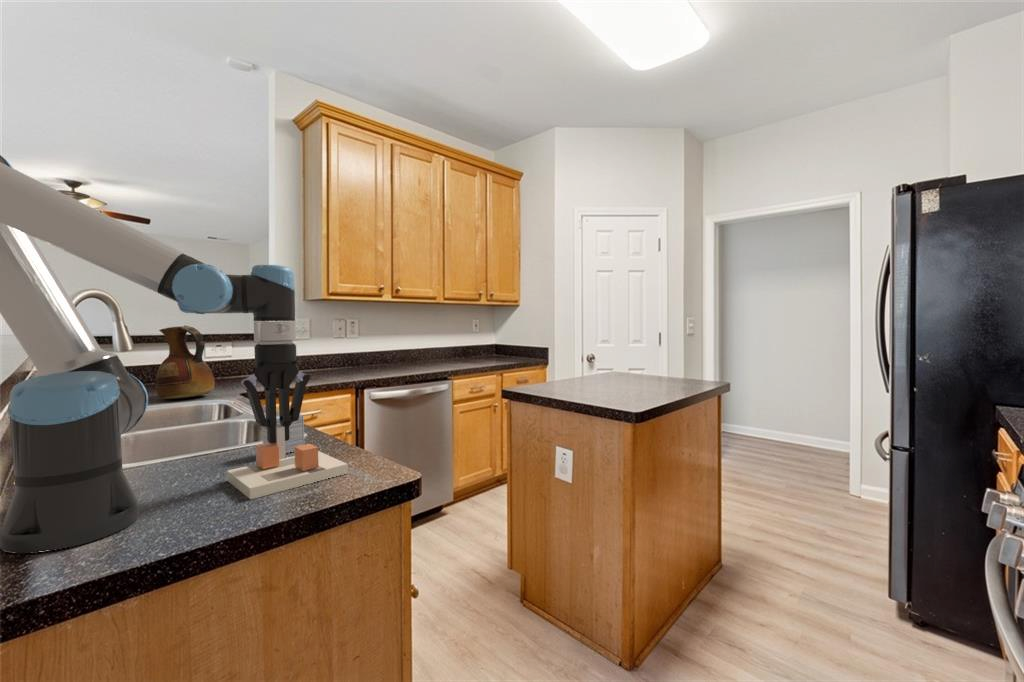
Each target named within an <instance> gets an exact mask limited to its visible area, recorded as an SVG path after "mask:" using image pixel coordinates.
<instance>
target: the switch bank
mask: <svg viewBox="0 0 1024 682" xmlns="http://www.w3.org/2000/svg"><path fill="white" fill-rule="evenodd" d="M318 463H319V467H318V468H314V469H309V470H305V471H302V470H300V469H299V468H297V467H295V455H293V456H289V457H288V456H287V457H285V458H284V459H280V460H279V466H275V467H271V468H266V469H262V468H260V467H259V466H257V465H256V463H254V464H249V465H246V466H242V467H238V468H233V469H227V470H226V476H227V477H226V479H227V482H228V483H230V485H232V486H233V487H235V488H236V489H237V490H238V491H240V492H241V493H242V494H243V495H244V496H246V497H247V498H248V499H250V500H254V499H257V498H261V497H265V496H269V495H273V494H276V493H281V492H284V491H288V490H292V489H294V488H295V489H296V488H298V487H304V486H306V484H307V485H311V484H315V483H318V482H317V481H319V482H322V481H326V480H329V479H328V478H330V479H333V478H332V477H334V478H337V477H340V475H341V476H345V475H348V474H349V465H348V463H346V462H344V461H341V460H340V459H337V458H335V457H332V456H331V455H328V454H326V453H324V452H322V451H319V450H318ZM344 474H345V475H344ZM336 476H337V477H336ZM325 479H326V480H325ZM321 480H322V481H321ZM314 482H315V483H314ZM303 485H304V486H303Z"/></svg>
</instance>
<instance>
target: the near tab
mask: <svg viewBox="0 0 1024 682" xmlns="http://www.w3.org/2000/svg"><path fill="white" fill-rule="evenodd" d="M318 451H319V447H318V446H316V445H314V444H311V443H306V444H305V443H304V445H300V446H295V447H294V452H293V453H294V456H295V467H297V468H299V469H300V470H302V471H305V470H309V469H314V468H318V467H319V463H318Z"/></svg>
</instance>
